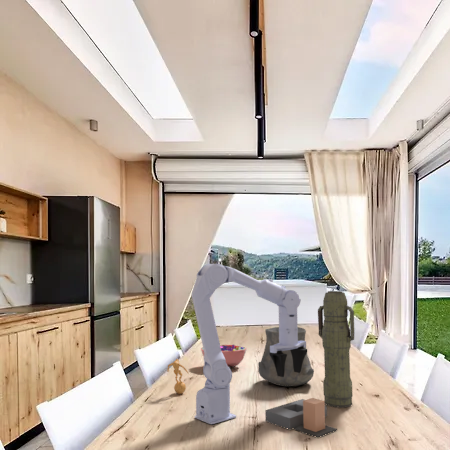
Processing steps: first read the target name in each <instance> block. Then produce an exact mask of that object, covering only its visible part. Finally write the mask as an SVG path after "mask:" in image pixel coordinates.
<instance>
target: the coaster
mask: <svg viewBox="0 0 450 450" xmlns="http://www.w3.org/2000/svg"><path fill="white" fill-rule="evenodd" d="M294 429H295V430H294ZM294 429H293V430H294V431H297V430H299V431H301V432H300V433H302V432H304V433H303V434H305V433H307V434H306V435H308V434H310V435H309V436H311V435H313V436H312V437H314V436H316V437H320V436H322V437H324V436H323V435H325V434H327V435H329V434H328V433H330V432H332V433H334V432H337V431H338V428H335V427H333V426H329V425H327V424H325V429H322V430H320V431H317V432H314V431H311V430H308V429H305V428H304V425H301V426H298V427H295V428H294ZM336 430H337V431H336ZM299 431H298V432H299ZM333 431H334V432H333ZM330 434H331V433H330ZM325 436H326V435H325ZM316 437H315V438H316ZM320 438H321V437H320Z"/></svg>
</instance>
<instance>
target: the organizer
mask: <svg viewBox="0 0 450 450" xmlns="http://www.w3.org/2000/svg"><path fill="white" fill-rule="evenodd" d="M304 400H305V399H303V398H302V399H298V400H295V401H291V402H288V403H285V404H281V405H279V406H275V407H271V408H269V409H265V413H264V415H265V422H266V421H267V422H266V423H269V422H270V423H269V424H272V423H273V424H272V425H275V424H276V425H275V426H278V425H279V426H278V427H280V426H282V427H281V428H283V427H285V428H284V429H286V428H288V429H287V430H289V429H291V430H293V429H292V428H295V427H298V426H301V425H304V422H303V401H304ZM327 406H328V405H325V418H327V417H328V410H327V409H328V407H327ZM326 416H327V417H326Z"/></svg>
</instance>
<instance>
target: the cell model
mask: <svg viewBox="0 0 450 450" xmlns="http://www.w3.org/2000/svg"><path fill="white" fill-rule="evenodd" d="M220 347H221V351H222V353H223V355H224V357H225V360H226V364H227V366H228V367H229V368H234V367H237V366H238V365H239V364H240V363H242V361H243V360H244V357H245V354H246V351H247V347H244V346H240V345H235V344H220ZM200 351H201V353H202V356H203V358H204V349H203V346H202V347H200Z"/></svg>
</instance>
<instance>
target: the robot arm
mask: <svg viewBox="0 0 450 450" xmlns="http://www.w3.org/2000/svg"><path fill="white" fill-rule="evenodd" d="M194 281H195V283H194V286H193V288H192V292H191V299H192V305H193V308H194V313H195V317H196V322H197V326H198V330H199V335H200V341H201V344H202V347H203V349H204V357H203V368H202V371H203V376H204V378H205V379H206V380H205V383H204V386H203V388H201V389H199V390H197V392H196V395H195V402H196V403H195V409H196V410H195V412H196V413H195V415H194V419H197V420H198V421H202V422H205V423H206V424H208V425H214V424H217V423H221V422H225V421H228V420H231V419H235V418H237V415H236V414H233V413H231V395H230V393H231V391H230V390H231V384H230V383H231V382H232V379H233V372H232V370H231V367H228V366H227V364H226V360H225V357H224V355H223V353H222V351H221V347H220V345H221V343H220V338H219V335H218V333H219V332H218V329H217V326H216V321H215V315H214V311H213V307H212V302H211V297H212V296H213V294H214V293H215V291H216V290H217V289H219V288H221V286H223V284H225V283H236V284H239V285H241V286H243V287H245V288H248V289H251V290H253V291H255V293H256V295H257V297H259V298H261V299H263V300H266V301H267V302H270V303H273V304H274V305H276V306H277V307H278V327H279V343H277V344H275V345H272V346H270V352H269V355H270V356H271V358H272V360H273V362H274V365H275V368H276V372H277V376H280V377H284V372H285V361H286V357H287V354H283V352H282V351H286V350H290V351H291V354H292V358H293V369H294V372H297V373H300V372H301V368H302V363H303V360H304V358H305V355H306V354H307V355H308V348H307V341H306V340H305V341H298V327H299V326H298V307H299V306H300V305H301V298H300V296H299V294H298V292H296V291H295V290H292V289H287V287H286V286H285V285H280V284H277V283H275V282H274V280H273V279H272V278H268V279H266V278H264V279H262V280H258V279H256V278H254V277H252V276H250V275H248V274H246V273H244V272H242V271H240V270H238V269H236V268H234V267H231V266H227V265H223V264H221V263H207V264H204V265H203V266H202V267H201V268H200V269H199V271H198V272H197V273H196V279H195V280H194ZM305 347H306V349H305Z"/></svg>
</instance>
